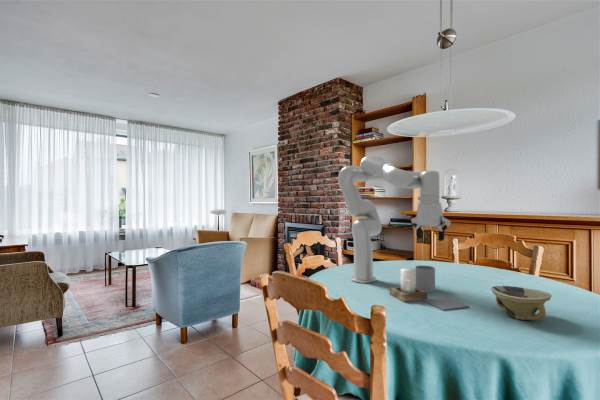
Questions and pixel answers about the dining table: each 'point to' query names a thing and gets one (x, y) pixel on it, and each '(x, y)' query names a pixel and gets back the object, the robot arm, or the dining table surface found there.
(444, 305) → the coaster
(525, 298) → the bowl
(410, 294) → the tray
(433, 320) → the dining table surface
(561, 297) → the dining table surface
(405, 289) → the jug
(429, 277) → the cup
